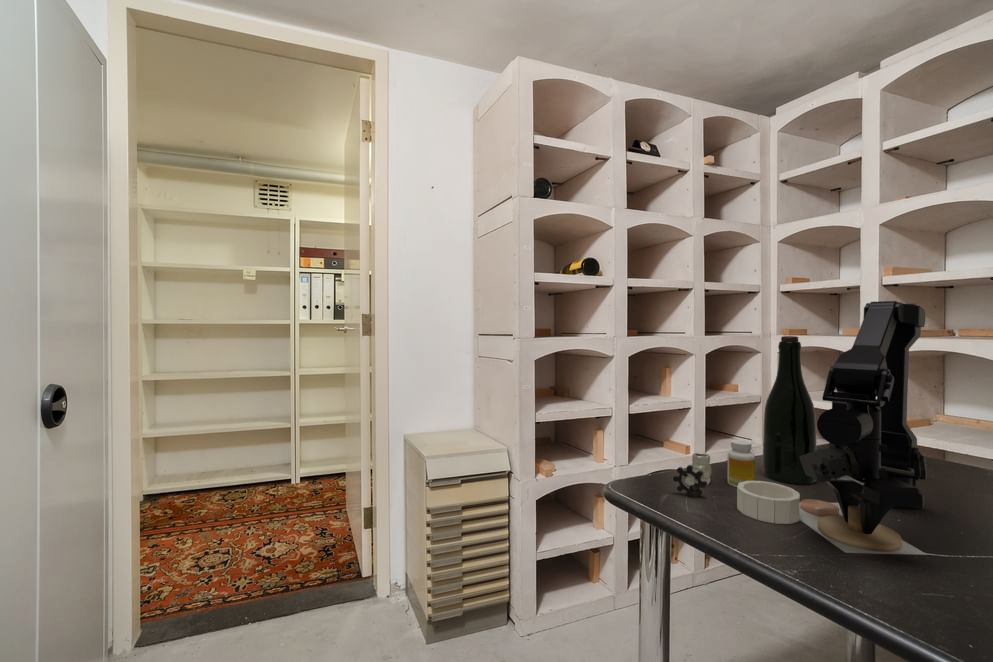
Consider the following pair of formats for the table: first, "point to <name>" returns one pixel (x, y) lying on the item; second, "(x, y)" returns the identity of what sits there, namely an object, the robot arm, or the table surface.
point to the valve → (695, 474)
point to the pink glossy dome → (819, 507)
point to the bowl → (768, 502)
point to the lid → (859, 532)
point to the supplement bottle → (740, 463)
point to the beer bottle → (788, 419)
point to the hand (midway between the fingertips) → (857, 528)
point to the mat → (813, 523)
